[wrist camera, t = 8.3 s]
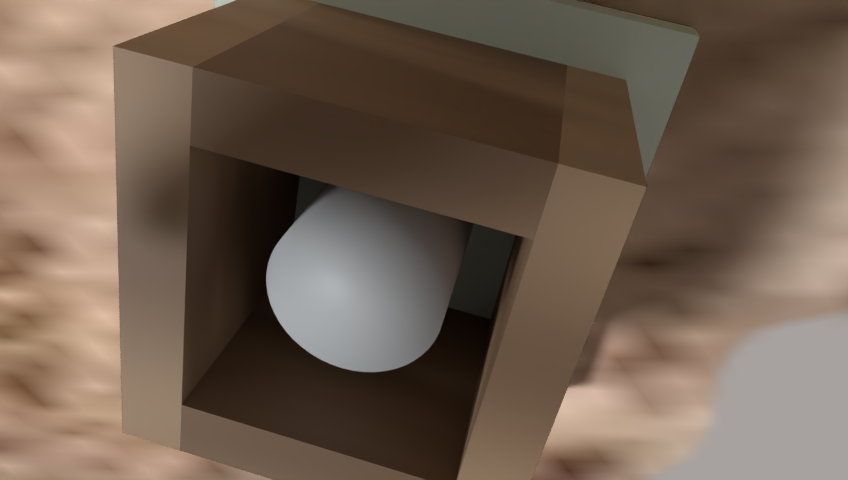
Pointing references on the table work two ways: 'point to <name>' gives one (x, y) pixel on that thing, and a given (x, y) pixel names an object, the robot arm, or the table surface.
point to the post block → (434, 233)
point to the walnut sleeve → (374, 175)
